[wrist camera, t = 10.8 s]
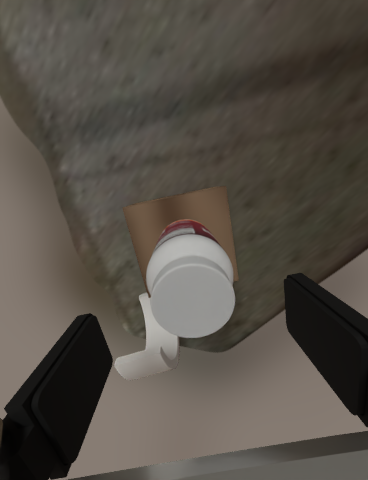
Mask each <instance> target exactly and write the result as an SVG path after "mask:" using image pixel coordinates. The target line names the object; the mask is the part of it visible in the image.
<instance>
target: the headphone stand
mask: <svg viewBox="0 0 368 480" xmlns="http://www.w3.org/2000/svg"><path fill="white" fill-rule="evenodd" d="M150 299H151V298H149V297H148V294H147V293H145V294H141V295H140V296H139V300H140V302H141V305H142V309H143V313H144V317H145V324H146V349H145V350H143V351H140V352H136V353H133V354H129V355H126V356H122V357H119V358H117V359H116V362H115V365H114V366H115V368H116V370H117V371H118V372H119V374H120V375H121V376H122V377H124V378H125V379H127V380H136V379H139V378H143V377H147V376H150V375H154V374H158V373H161V372H165V371H168V370H172V369H175V368H176V367H177V365H178V360H179V336H176V335H173V334H171V333H169V332H168V331H166V330H164V329H163V328H162V327H161V326H160V325H159V324H158V322H157V321H156V320H155V318H154V316H153V314H152V310H151V305H150Z"/></svg>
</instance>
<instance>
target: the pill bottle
mask: <svg viewBox="0 0 368 480" xmlns="http://www.w3.org/2000/svg"><path fill="white" fill-rule="evenodd" d="M146 282H147V287H148V291H149V293H150V295H151V299H150V305H151V310H152V314H153V316H154V318H155V320H156V321H157V322H158V324H159V325H160V326H161V327H162V328H163V329H164V330H166V331H168V332H169V333H171V334H173V335H176V336H179V337H184V338H198V337H203V336H207V335H210V334H212V333H214V332H216V331H217V330H219V329H220V328H221V327H223V326H224V325H225V324H226V322H227V321H228V320H229V319H230V317H231V315H232V313H233V310H234V306H235V294H234V290H233V287H232V285H233V267H232V264H231V261H230V259H229V257H228V255H227V254H226V252H225V251H224V250H223V248H222V247H221V246H220V244H219V243H218V241H217V240H216V239H215V237H214V236H213V235H212V234H211V232H210V231H209V230H208V229H207V228H206V227H205V226H204V225H203V224H201V223H199V222H197V221H194V220H189V219H184V220H178V221H175V222H173V223H171V224H170V225H168V226H167V227H166V228H165V229H164V230H163V232H162V233H161V235H160V237H159V239H158V242H157V244H156V246H155V249H154V251H153V254H152V256H151V258H150V261H149V264H148V267H147V272H146Z"/></svg>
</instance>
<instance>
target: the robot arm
mask: <svg viewBox="0 0 368 480" xmlns="http://www.w3.org/2000/svg"><path fill="white" fill-rule="evenodd" d="M284 292H285V309H286V324H287V328H288V331H289V333H290V334H291V335H292V337H293V338H294V339H295V341H296V342H297V343H298V345H299V346H300V347H301V349H302V350H303V351H304V352H305V354H306V355H307V356H308V358H309V359H310V360H311V362H312V363H313V364H314V366H315V367H316V368H317V370H318V371H319V372H320V374H321V375H322V376H323V377H324V379H325V380H326V381H327V383H328V384H329V385H330V387H331V388H332V389H333V391H334V392H335V393H336V394H337V396H338V397H339V398H340V400H341V401H342V402H343V404H344V405H345V406H346V408H347V409H348V410H349V411H350V412H351V413H352V414H353V415H358V417H359V418H360V419H361V420H362V422H363V423H364V424H365V426H366V427H368V319H367V318H366V317H364V316H363V315H361V314H360V313H358V312H357V311H356V310H354V309H353V308H351V307H350V306H348V305H347V304H346V303H344V302H343V301H341V300H340V299H338V298H337V297H335V296H334V295H333V294H331V293H330V292H328V291H327V290H325V289H324V288H322V287H321V286H320V285H318V284H317V283H315V282H314V281H312V280H311V279H309V278H308V277H307V276H305V275H304V274H302V273H297V274H292V275H288V276H287V279H284ZM112 362H113V359H112V355H111V353H110V351H109V348H108V345H107V343H106V340H105V338H104V335H103V332H102V330H101V327H100V325H99V322H98V320H97V317H96V316H93V315H92V314H90V313H89V314H84V315H80V316H77V317H76V319H75V320H74V321H73V322H72V324H71V325H70V326H69V327H68V329H67V330H66V331H65V332H64V334H63V335H62V336H61V337H60V339H59V340H58V341H57V342H56V344H55V345H54V346H53V347H52V349H51V350H50V351H49V353H48V354H47V355H46V356H45V357H44V359H43V360H42V361H41V362H40V364H39V365H38V366H37V367H36V369H35V370H34V371H33V373H32V374H31V375H30V376H29V378H28V379H27V380H26V381H25V383H24V384H23V385H22V386H21V388H20V389H19V390H18V391H17V393H16V394H15V395H14V396H13V398H12V399H11V400H10V402H9V403H8V404H7V405H6V407H5V408H4V409H5V411H6V412H7V415H6V417H5V418H4V419H3V420H2V419H1V418H0V480H48V479H49V477H50V479H51V480H52V479H58V478H64V477H66V476H67V474H68V471H69V469H70V467H71V464H72V463H73V462H74V461H75V460H76V458H77V456H78V454H79V451H80V449H81V446H82V443H83V441H84V438H85V435H86V433H87V430H88V428H89V425H90V422H91V420H92V417H93V414H94V412H95V409H96V406H97V404H98V401H99V399H100V396H101V393H102V391H103V388H104V385H105V382H106V380H107V377H108V374H109V372H110V369H111V367H112ZM68 480H368V431H364V432H357V433H350V434H342V435H335V436H329V437H322V438H316V439H310V440H303V441H297V442H291V443H284V444H278V445H272V446H266V447H259V448H253V449H247V450H240V451H235V452H228V453H222V454H217V455H211V456H204V457H199V458H192V459H186V460H180V461H174V462H168V463H162V464H156V465H150V466H144V467H138V468H132V469H126V470H120V471H115V472H109V473H104V474H97V475H91V476H86V477H81V478H74V479H68Z"/></svg>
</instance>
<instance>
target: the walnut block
mask: <svg viewBox="0 0 368 480" xmlns="http://www.w3.org/2000/svg"><path fill="white" fill-rule="evenodd" d="M123 211H124V215H125V218H126V222H127V225H128V229H129V232H130V235H131V239H132V242H133V246H134V249H135V253H136V256H137V260H138V263H139V266H140V270H141V273H142V277H143V280H144V284H145V287H146V290H147V294H148V297H149V298H151V295H150V293H149V291H148V287H147V282H146V272H147V267H148V264H149V261H150V258H151V256H152V254H153V251H154V249H155V246H156V244H157V242H158V239H159V237H160V235H161V233H162V232H163V230H164V229H165V228H166V227H167V226H168V225H170V224H171V223H173V222H175V221H178V220H184V219H189V220H194V221H197V222H199V223H201V224H203V225H204V226H205V227H206V228H207V229H208V230H209V231H210V232H211V234H212V235H213V236H214V237H215V239H216V240H217V241H218V243H219V244H220V246H221V247H222V248H223V250H224V251H225V252H226V254H227V255H228V257H229V259H230V261H231V264H232V267H233V281H238V280H239V279H238V272H237V264H236V257H235V250H234V242H233V235H232V227H231V220H230V212H229V205H228V198H227V190H226V186H220V187H211V188H207V189H202V190H197V191H192V192H188V193H183V194H178V195H173V196H168V197H164V198H159V199H154V200H149V201H145V202H140V203H135V204H132V205H129V206H126V207H123Z"/></svg>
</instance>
